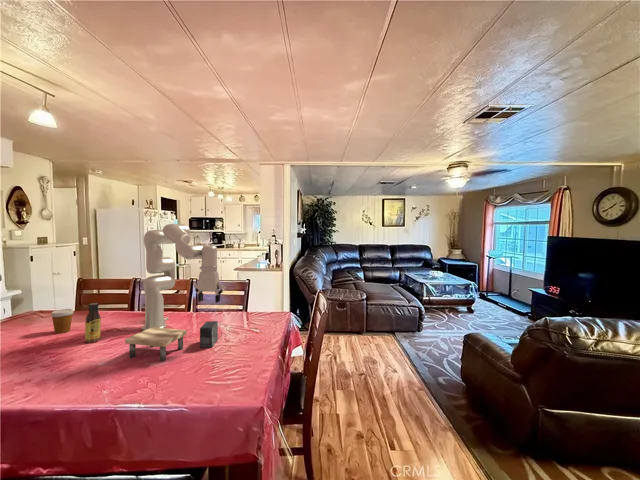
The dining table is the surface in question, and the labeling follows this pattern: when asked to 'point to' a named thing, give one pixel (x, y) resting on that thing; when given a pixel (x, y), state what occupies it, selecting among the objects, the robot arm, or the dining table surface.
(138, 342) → the peg shelf
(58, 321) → the disposable coffee cup
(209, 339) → the small box
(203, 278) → the robot arm
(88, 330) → the sauce bottle
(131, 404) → the dining table surface
